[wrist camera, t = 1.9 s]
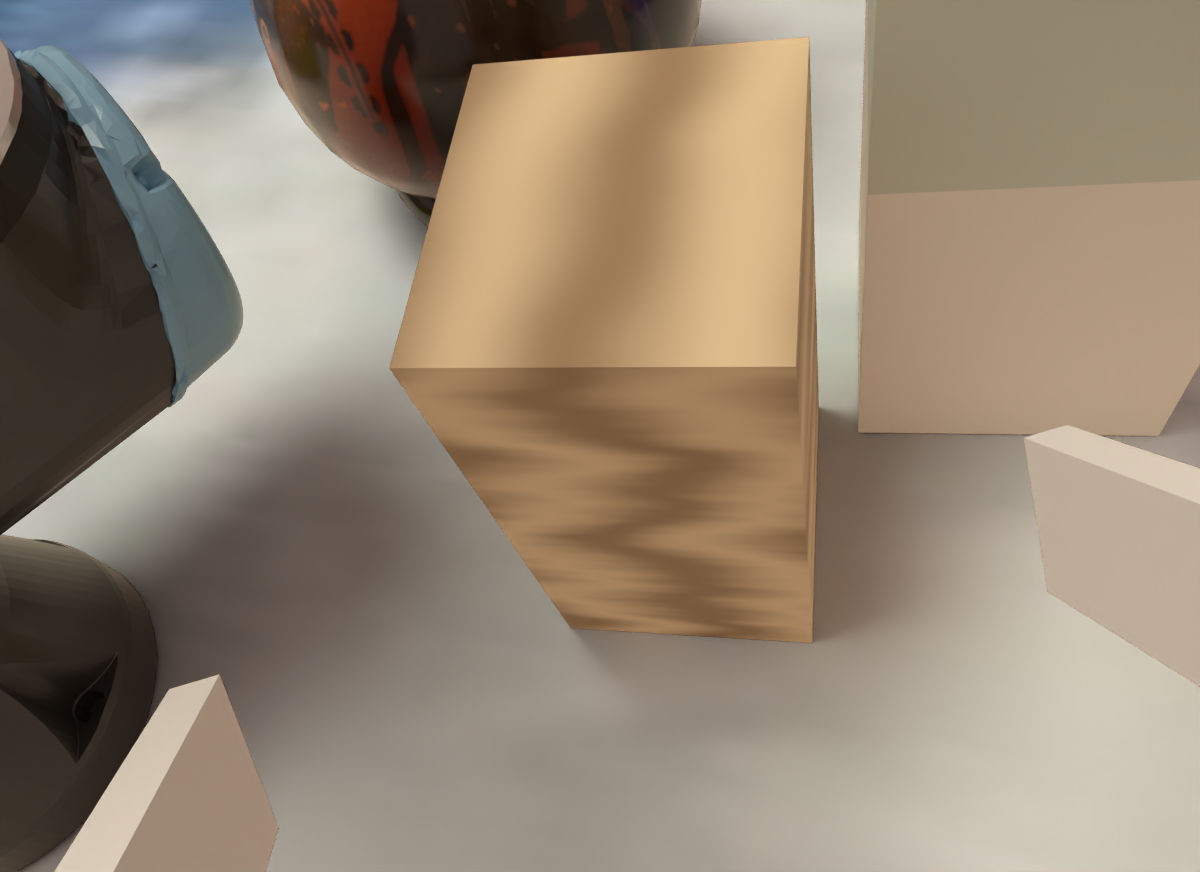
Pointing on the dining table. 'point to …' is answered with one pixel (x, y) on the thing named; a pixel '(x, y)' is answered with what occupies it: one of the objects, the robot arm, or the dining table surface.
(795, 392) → the low block
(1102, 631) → the dining table surface
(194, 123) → the dining table surface
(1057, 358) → the beige tall block
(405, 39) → the amphora vase
